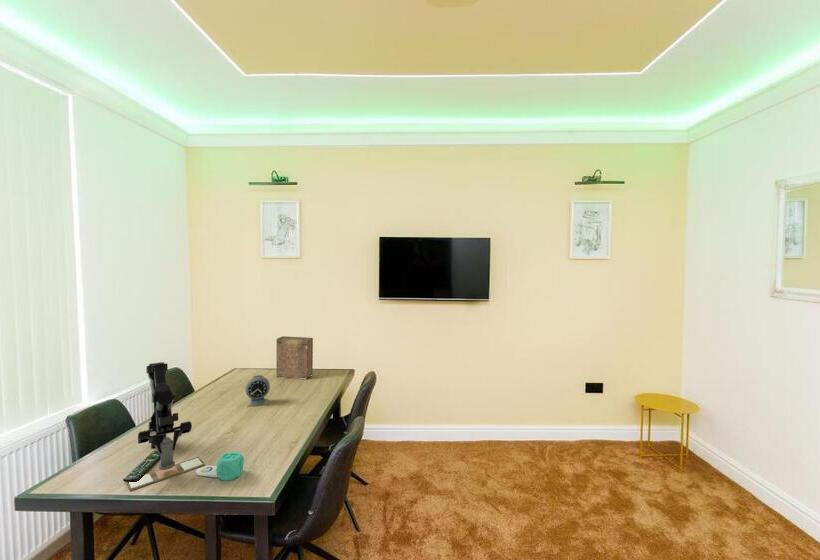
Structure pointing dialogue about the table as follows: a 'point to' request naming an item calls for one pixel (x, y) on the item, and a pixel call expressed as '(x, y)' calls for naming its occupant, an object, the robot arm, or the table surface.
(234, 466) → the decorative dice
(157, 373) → the robot arm
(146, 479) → the game board
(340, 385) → the table surface
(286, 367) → the book
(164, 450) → the pawn
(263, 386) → the alarm clock
